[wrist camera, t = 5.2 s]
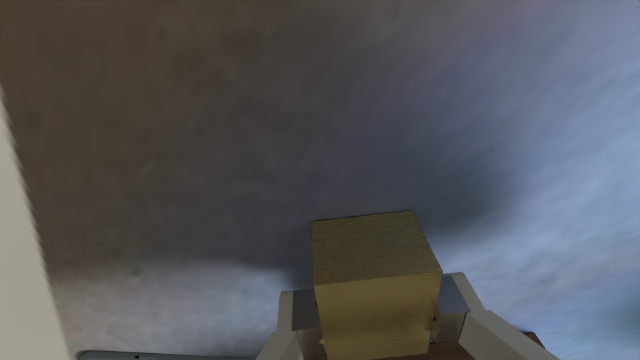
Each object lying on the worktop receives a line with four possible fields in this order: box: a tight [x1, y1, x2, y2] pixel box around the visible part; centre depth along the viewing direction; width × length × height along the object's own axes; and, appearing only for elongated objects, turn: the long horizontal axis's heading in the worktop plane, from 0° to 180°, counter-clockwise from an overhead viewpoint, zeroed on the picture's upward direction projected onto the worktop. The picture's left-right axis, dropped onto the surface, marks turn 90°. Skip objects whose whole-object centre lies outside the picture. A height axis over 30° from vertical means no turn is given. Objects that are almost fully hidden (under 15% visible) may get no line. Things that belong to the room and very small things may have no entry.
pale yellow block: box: [312, 210, 443, 360], centre depth 11 cm, size 5×4×3 cm
